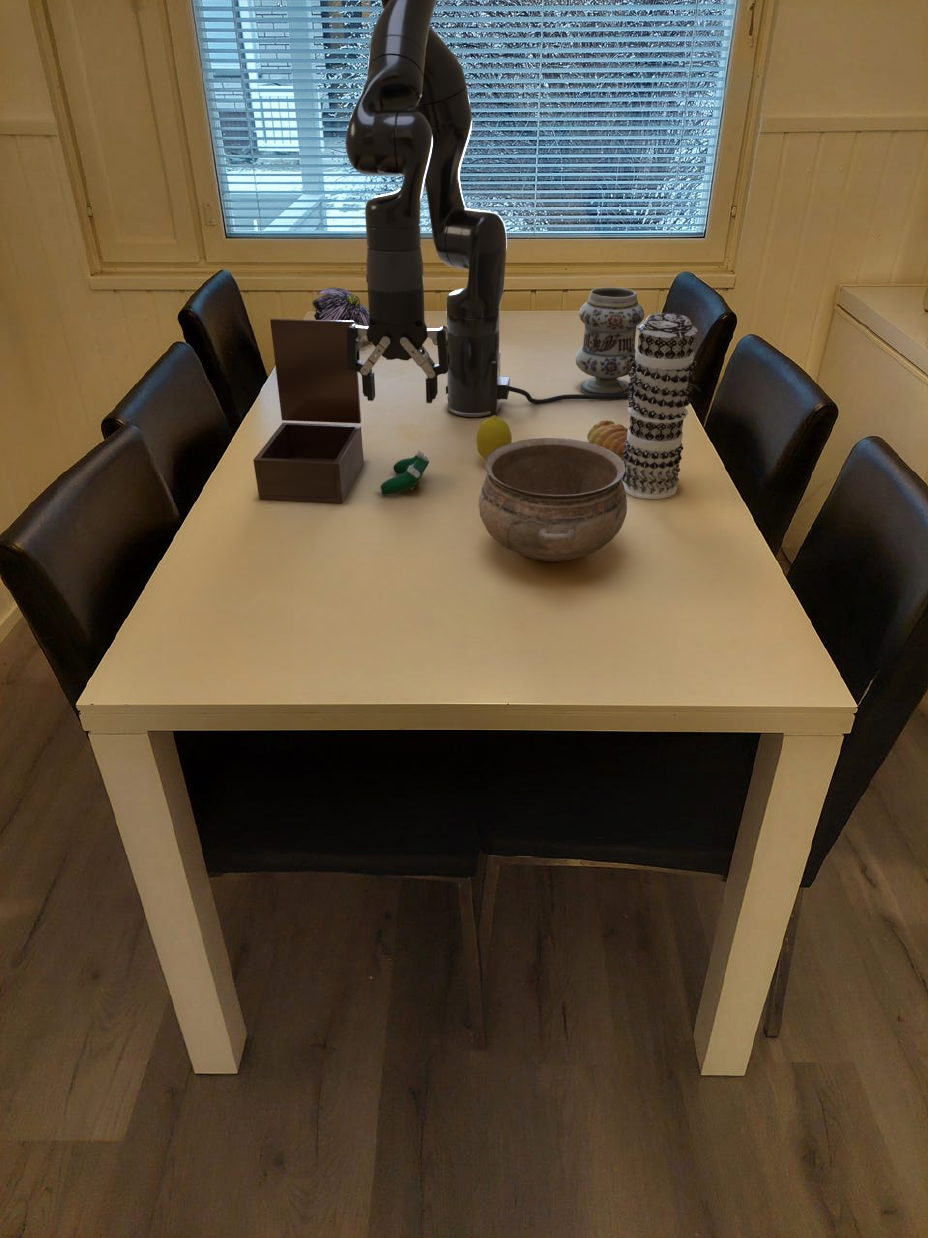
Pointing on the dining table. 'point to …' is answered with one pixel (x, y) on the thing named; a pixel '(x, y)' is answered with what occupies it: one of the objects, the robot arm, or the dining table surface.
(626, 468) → the decorative candle
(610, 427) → the pastry
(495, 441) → the lemon
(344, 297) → the decorative flower
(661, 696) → the dining table surface
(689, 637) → the dining table surface
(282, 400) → the case cover
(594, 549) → the cooking pot
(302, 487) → the case
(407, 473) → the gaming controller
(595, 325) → the apothecary jar
